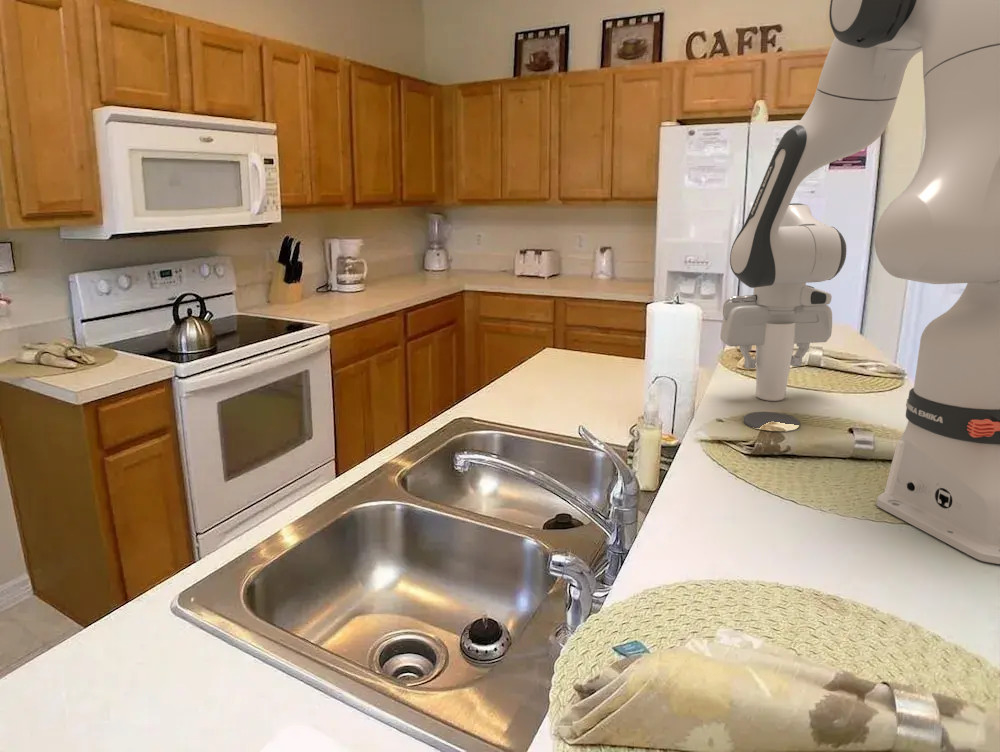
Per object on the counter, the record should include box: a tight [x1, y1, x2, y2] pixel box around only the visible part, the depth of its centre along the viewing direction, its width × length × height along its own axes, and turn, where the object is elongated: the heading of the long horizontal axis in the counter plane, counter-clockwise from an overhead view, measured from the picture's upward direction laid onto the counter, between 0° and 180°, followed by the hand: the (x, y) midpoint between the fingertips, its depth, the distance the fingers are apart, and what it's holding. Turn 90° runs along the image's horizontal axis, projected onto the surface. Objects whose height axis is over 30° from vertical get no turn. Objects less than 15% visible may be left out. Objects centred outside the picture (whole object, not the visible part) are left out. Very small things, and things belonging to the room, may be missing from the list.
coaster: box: [743, 411, 801, 429], centre depth 118 cm, size 9×9×1 cm
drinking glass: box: [755, 322, 796, 402], centre depth 130 cm, size 7×7×15 cm
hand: (772, 366), depth 130 cm, fingers open, 8 cm apart
